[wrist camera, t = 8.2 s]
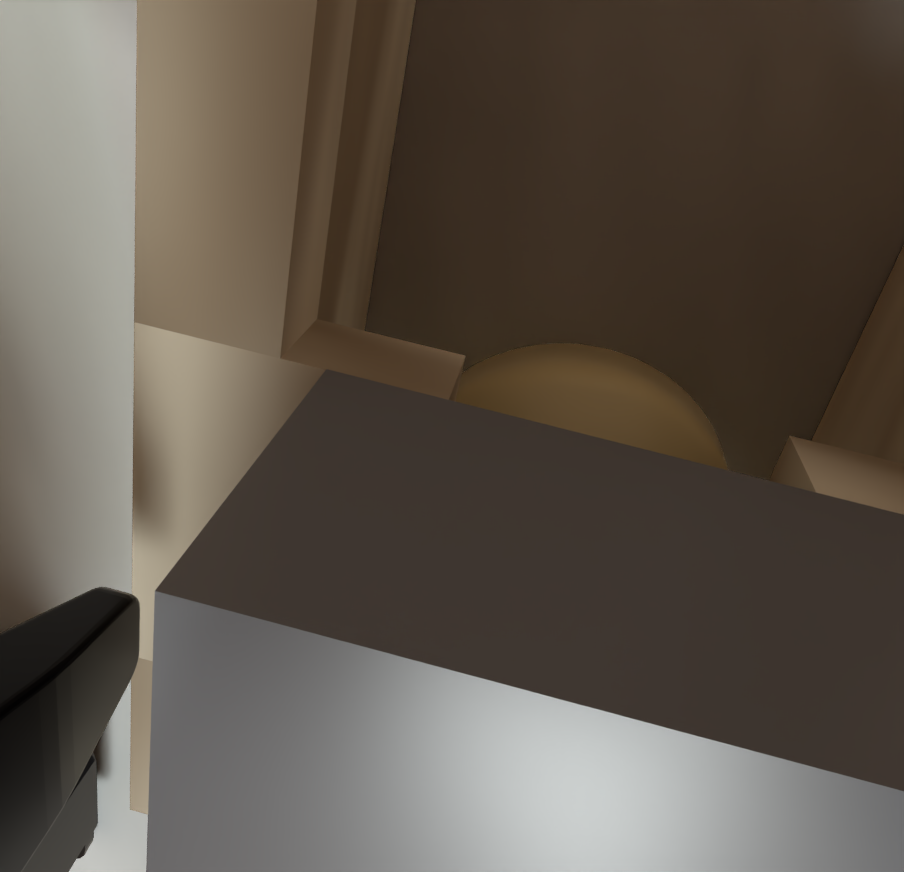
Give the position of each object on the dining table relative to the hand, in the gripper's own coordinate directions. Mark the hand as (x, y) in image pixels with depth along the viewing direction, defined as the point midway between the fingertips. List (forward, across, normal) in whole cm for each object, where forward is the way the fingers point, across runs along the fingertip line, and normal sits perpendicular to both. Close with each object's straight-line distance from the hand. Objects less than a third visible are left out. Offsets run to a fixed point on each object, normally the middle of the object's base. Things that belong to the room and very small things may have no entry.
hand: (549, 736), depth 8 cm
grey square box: (+5, 0, 0) cm, 5 cm away
